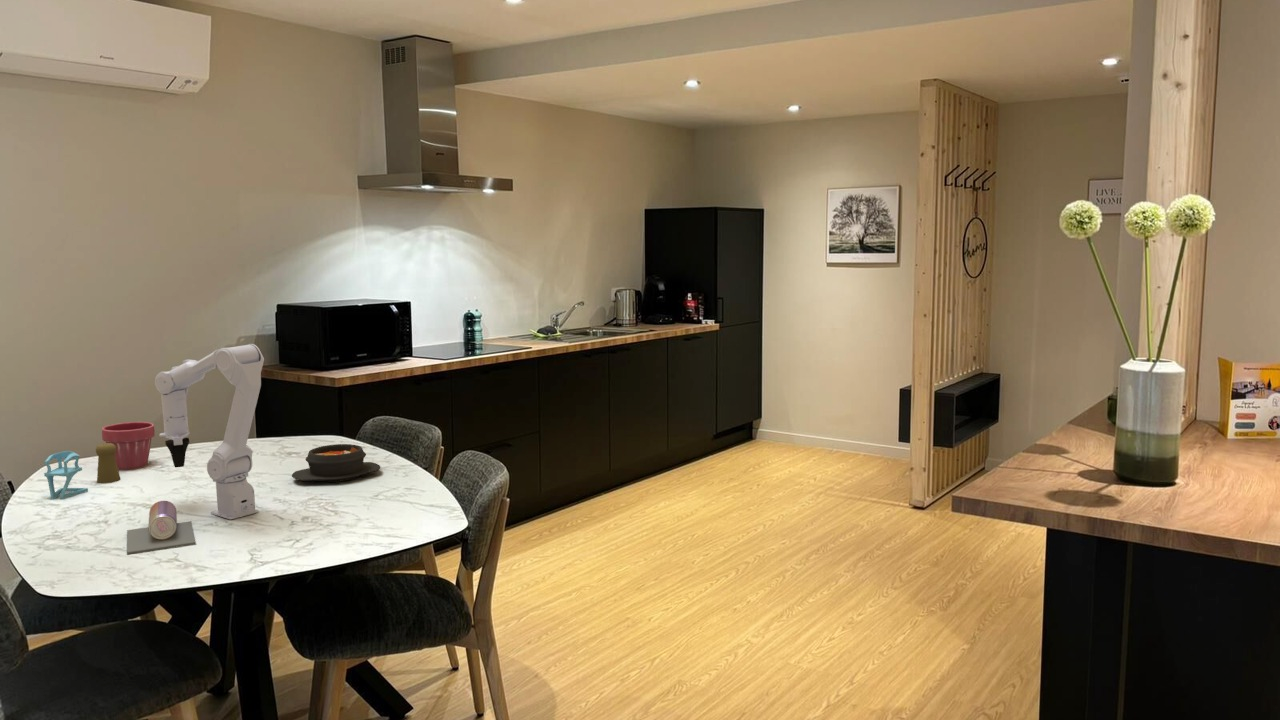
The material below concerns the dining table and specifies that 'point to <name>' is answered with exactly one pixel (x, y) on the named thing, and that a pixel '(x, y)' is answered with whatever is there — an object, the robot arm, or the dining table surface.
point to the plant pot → (130, 443)
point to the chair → (63, 474)
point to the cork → (107, 463)
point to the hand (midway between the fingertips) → (179, 466)
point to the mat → (146, 542)
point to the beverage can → (162, 520)
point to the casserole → (335, 464)
